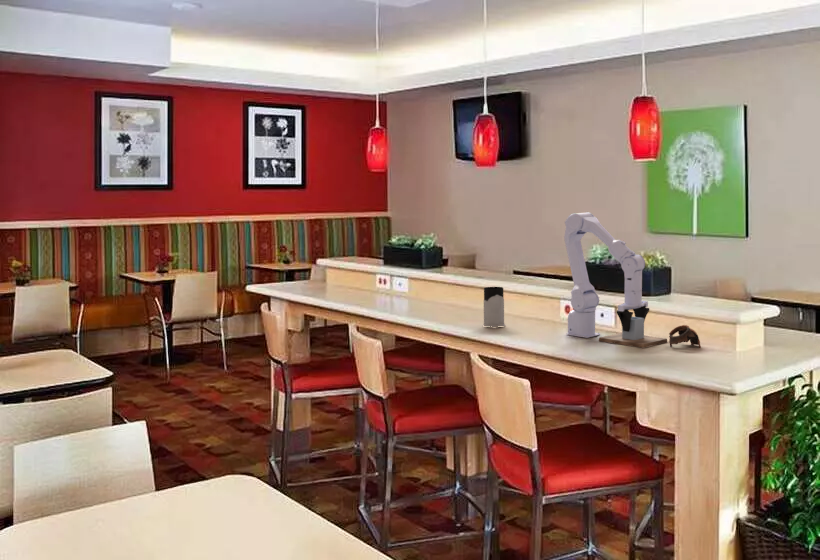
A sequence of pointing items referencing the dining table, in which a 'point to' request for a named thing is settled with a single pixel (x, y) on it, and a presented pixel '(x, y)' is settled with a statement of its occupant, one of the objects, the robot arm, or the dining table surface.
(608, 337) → the pin plate
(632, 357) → the dining table surface
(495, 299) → the glass holder
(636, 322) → the sleeve
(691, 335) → the brown curved band
